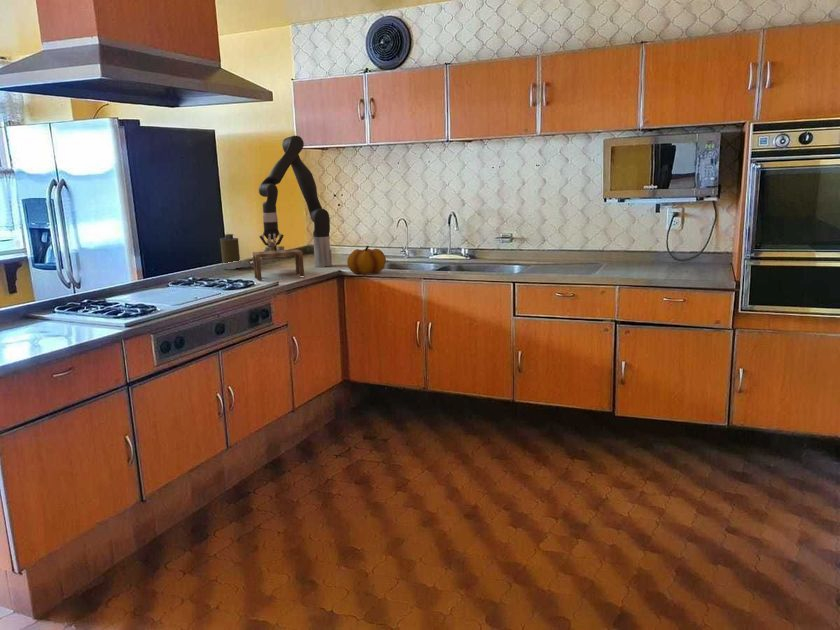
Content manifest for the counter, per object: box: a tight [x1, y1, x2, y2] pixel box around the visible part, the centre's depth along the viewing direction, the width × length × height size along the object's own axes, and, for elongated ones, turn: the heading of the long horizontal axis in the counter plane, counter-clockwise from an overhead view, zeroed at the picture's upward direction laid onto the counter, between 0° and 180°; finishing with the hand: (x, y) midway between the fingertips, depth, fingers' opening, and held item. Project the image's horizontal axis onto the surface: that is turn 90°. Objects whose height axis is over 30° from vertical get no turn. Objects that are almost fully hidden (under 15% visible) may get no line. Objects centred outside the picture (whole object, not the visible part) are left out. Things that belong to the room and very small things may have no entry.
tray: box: [260, 239, 290, 261], centre depth 363 cm, size 14×23×8 cm, turn 21°
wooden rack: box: [252, 248, 305, 281], centre depth 347 cm, size 24×12×14 cm, turn 111°
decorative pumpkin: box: [346, 245, 387, 276], centre depth 352 cm, size 20×22×15 cm
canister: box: [219, 233, 241, 265], centre depth 384 cm, size 11×10×20 cm
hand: (272, 252), depth 361 cm, fingers closed on tray
